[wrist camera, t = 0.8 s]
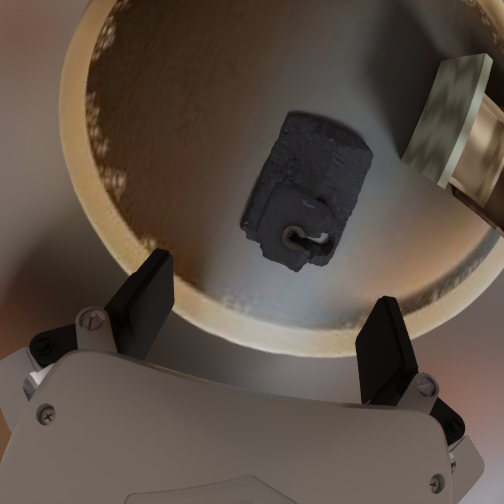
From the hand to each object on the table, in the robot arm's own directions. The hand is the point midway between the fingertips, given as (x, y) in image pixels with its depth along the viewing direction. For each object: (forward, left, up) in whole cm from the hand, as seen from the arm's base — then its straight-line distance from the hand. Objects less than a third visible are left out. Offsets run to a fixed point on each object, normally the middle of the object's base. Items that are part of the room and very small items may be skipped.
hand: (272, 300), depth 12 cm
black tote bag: (+3, +4, -30) cm, 30 cm away
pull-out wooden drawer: (-16, +22, -28) cm, 39 cm away
